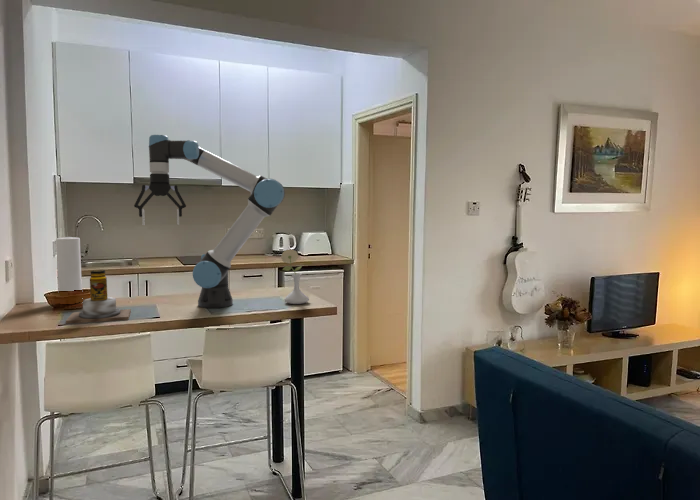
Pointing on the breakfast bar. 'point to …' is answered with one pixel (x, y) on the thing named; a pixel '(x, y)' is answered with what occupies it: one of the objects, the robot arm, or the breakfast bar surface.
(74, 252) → the cylinder container
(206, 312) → the breakfast bar surface
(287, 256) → the flower in vase
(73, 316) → the duct base
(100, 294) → the condiment
